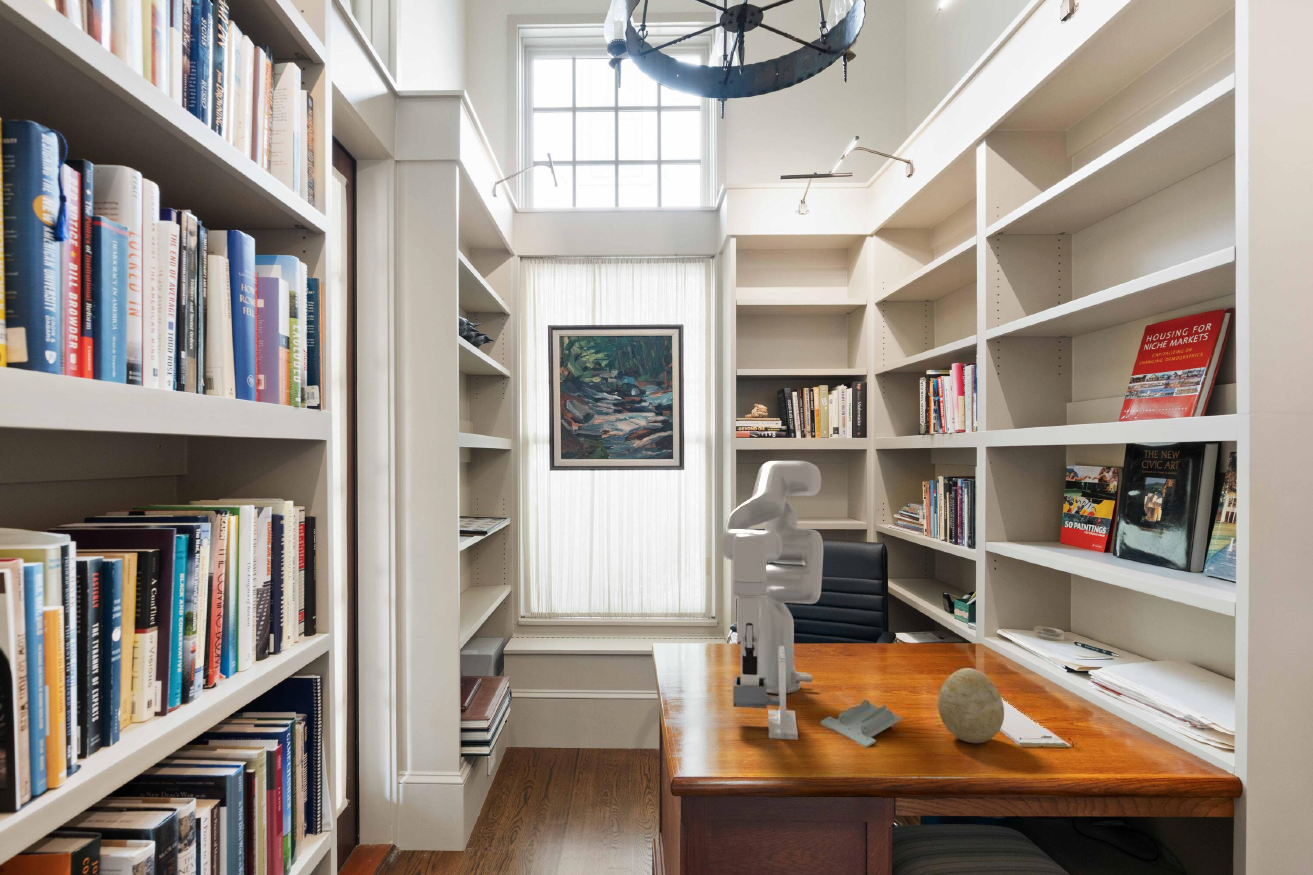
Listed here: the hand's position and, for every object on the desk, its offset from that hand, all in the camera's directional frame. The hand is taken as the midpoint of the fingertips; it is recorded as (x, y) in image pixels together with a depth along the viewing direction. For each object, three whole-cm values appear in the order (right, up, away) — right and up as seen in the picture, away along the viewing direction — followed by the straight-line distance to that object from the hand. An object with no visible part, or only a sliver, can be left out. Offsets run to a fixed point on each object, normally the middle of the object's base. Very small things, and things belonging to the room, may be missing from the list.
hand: (750, 670), depth 156 cm
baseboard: (+60, -13, +3) cm, 62 cm away
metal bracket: (+25, -13, -3) cm, 28 cm away
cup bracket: (+3, -12, -1) cm, 12 cm away
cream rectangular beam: (0, -3, 0) cm, 3 cm away
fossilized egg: (+45, -12, -9) cm, 48 cm away
